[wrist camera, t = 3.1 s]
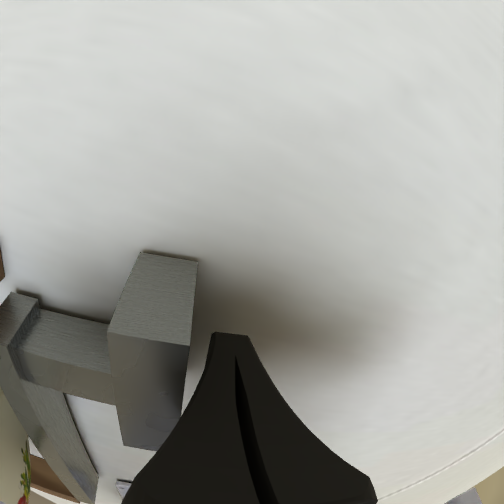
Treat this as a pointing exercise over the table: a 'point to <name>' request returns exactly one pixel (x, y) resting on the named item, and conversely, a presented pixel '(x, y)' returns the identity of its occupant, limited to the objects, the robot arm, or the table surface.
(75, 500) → the walnut holder
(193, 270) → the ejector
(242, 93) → the table surface
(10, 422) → the pitcher
